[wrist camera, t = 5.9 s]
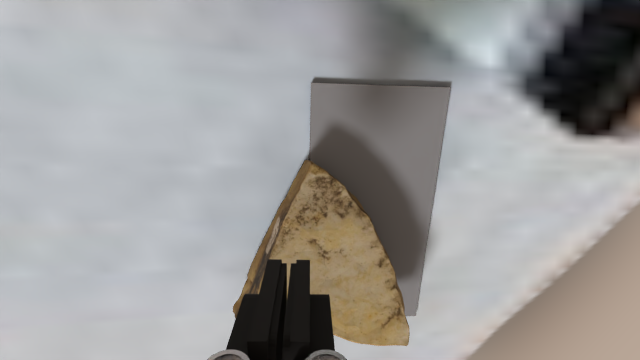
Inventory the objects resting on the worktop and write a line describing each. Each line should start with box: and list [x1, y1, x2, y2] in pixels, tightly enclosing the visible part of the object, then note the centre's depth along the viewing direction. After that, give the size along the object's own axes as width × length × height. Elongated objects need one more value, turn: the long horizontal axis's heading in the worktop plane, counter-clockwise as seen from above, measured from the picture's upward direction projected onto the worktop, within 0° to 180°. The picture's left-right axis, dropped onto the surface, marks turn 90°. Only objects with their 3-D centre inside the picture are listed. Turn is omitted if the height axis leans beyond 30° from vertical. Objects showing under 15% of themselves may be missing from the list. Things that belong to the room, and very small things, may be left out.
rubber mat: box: [310, 83, 451, 316], centre depth 19 cm, size 8×16×1 cm, turn 178°
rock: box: [233, 160, 410, 346], centre depth 19 cm, size 11×9×10 cm
